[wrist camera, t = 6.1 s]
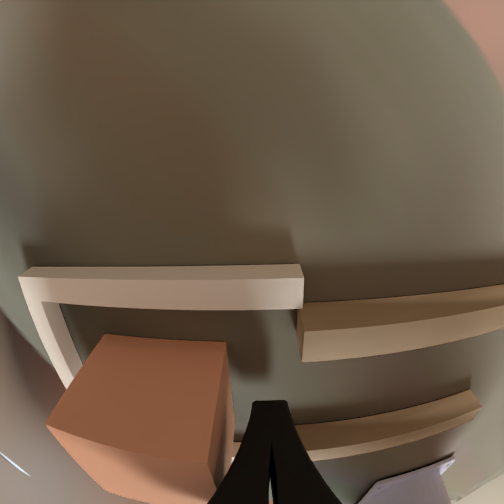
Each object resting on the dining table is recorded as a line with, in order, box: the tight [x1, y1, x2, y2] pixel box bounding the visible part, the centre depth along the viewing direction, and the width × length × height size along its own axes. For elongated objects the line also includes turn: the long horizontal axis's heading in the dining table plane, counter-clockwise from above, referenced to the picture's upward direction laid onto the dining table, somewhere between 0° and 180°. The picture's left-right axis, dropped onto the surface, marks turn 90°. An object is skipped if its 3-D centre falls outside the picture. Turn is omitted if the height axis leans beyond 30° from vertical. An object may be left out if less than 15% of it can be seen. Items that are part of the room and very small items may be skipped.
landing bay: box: [18, 264, 304, 464], centre depth 10 cm, size 11×10×1 cm
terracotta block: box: [45, 334, 235, 504], centre depth 9 cm, size 5×5×5 cm
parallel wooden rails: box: [295, 284, 504, 461], centre depth 10 cm, size 8×11×2 cm
